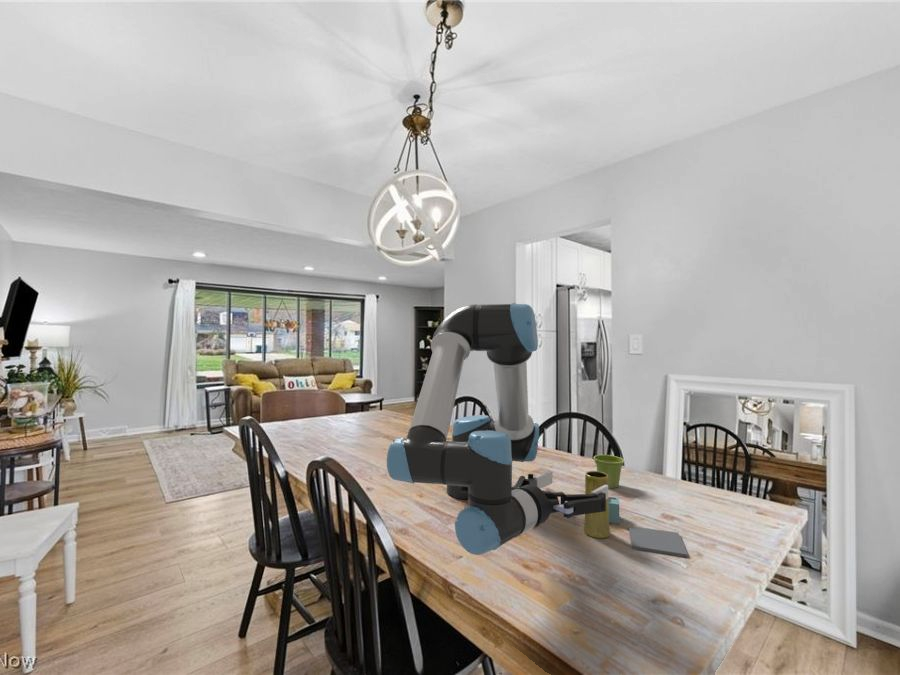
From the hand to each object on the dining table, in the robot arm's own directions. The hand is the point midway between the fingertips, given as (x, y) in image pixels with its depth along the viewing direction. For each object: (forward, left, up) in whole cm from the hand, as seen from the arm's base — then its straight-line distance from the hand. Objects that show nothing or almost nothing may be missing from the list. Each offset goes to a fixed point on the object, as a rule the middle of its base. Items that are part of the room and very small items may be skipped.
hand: (577, 484), depth 93 cm
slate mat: (+9, +17, -14) cm, 24 cm away
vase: (-2, +10, -14) cm, 18 cm away
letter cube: (-5, +20, -14) cm, 25 cm away
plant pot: (-21, +43, -15) cm, 50 cm away
